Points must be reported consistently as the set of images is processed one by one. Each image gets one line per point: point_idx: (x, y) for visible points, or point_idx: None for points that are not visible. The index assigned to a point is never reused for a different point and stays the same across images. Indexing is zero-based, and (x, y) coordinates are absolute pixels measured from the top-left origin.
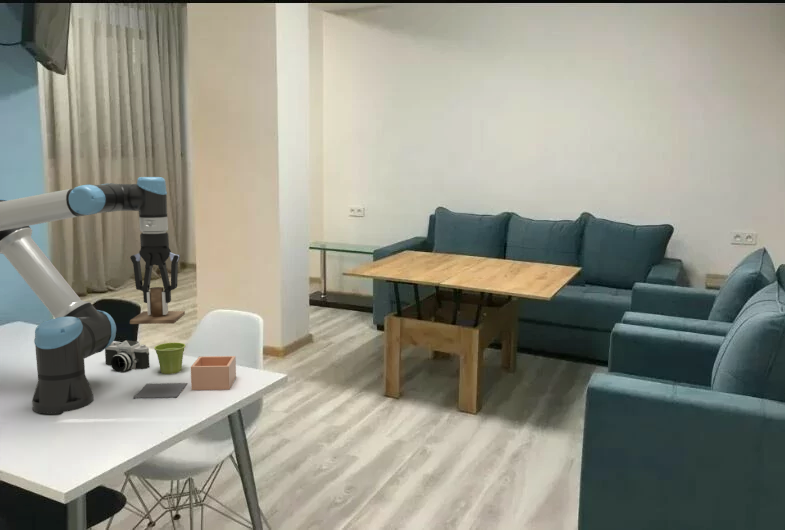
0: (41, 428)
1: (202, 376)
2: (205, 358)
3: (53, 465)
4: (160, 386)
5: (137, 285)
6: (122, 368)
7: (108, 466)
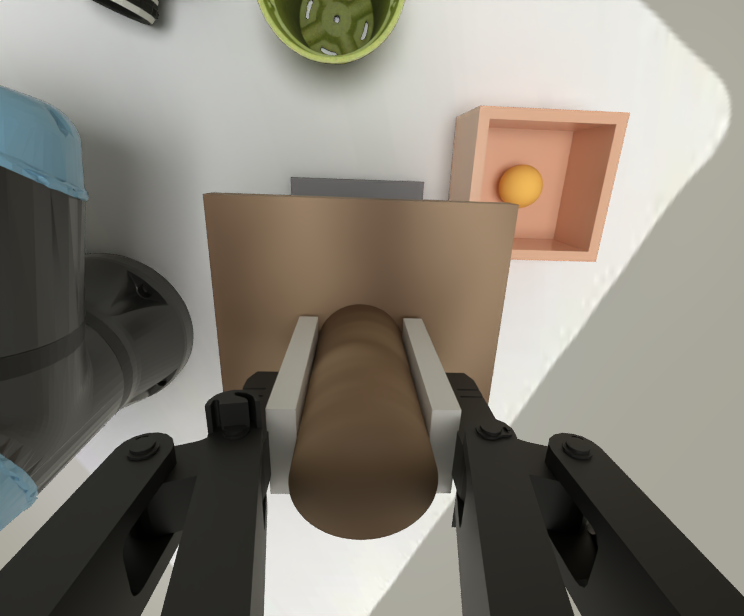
0: None
1: None
2: (504, 120)
3: (279, 601)
4: None
5: (138, 559)
6: (138, 15)
7: (368, 605)
